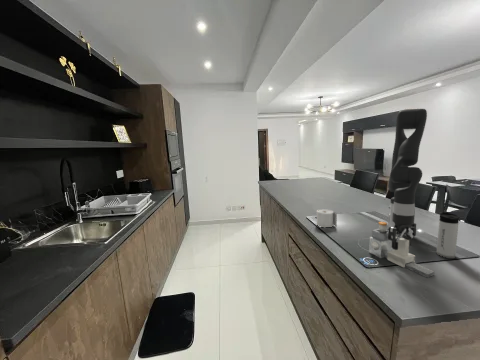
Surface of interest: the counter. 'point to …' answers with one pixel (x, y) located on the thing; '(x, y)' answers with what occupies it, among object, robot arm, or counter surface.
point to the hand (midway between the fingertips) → (401, 247)
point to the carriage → (401, 253)
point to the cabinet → (380, 243)
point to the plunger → (382, 227)
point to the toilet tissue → (326, 218)
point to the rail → (417, 268)
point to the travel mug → (447, 235)
